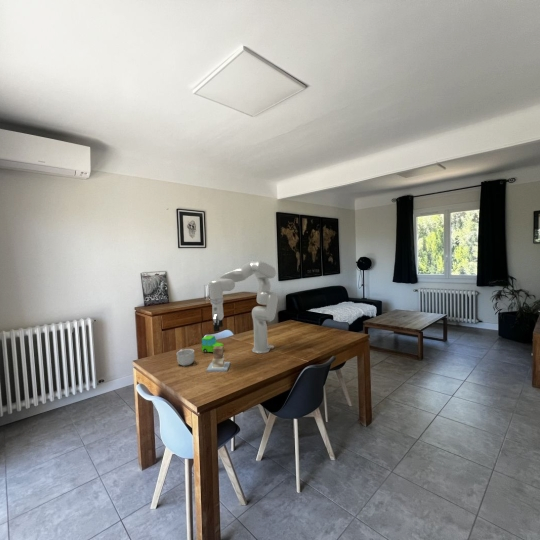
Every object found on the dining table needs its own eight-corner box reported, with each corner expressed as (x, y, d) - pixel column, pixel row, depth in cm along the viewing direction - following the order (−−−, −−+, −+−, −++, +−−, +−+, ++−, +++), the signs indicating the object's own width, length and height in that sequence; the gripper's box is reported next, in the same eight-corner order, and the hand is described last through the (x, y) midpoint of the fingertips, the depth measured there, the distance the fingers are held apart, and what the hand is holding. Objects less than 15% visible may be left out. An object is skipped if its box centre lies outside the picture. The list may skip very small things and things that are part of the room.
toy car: (219, 354, 194) (218, 340, 193) (201, 353, 197) (200, 339, 196) (224, 349, 204) (224, 336, 203) (207, 348, 207) (207, 335, 206)
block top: (223, 355, 172) (223, 346, 172) (221, 358, 167) (221, 348, 167) (215, 355, 172) (214, 346, 172) (213, 358, 167) (213, 348, 167)
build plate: (230, 363, 176) (230, 361, 176) (226, 371, 164) (226, 369, 164) (211, 364, 176) (211, 361, 176) (206, 371, 164) (206, 369, 164)
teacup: (196, 365, 175) (196, 352, 175) (178, 368, 170) (178, 355, 169) (191, 358, 187) (190, 346, 187) (174, 361, 182) (173, 349, 181)
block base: (224, 363, 173) (224, 355, 173) (222, 367, 167) (222, 358, 167) (214, 363, 173) (214, 355, 173) (212, 367, 167) (212, 359, 167)
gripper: (220, 303, 160) (222, 332, 161) (225, 298, 177) (227, 324, 178) (207, 303, 160) (208, 333, 161) (213, 298, 177) (215, 325, 178)
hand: (218, 328), depth 170 cm, fingers open, 9 cm apart
